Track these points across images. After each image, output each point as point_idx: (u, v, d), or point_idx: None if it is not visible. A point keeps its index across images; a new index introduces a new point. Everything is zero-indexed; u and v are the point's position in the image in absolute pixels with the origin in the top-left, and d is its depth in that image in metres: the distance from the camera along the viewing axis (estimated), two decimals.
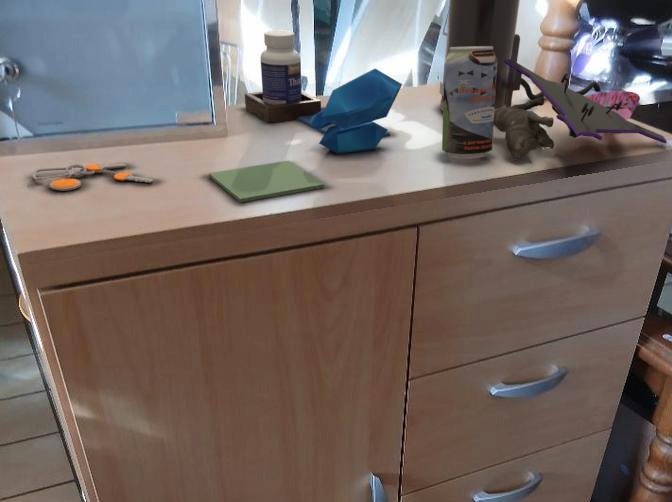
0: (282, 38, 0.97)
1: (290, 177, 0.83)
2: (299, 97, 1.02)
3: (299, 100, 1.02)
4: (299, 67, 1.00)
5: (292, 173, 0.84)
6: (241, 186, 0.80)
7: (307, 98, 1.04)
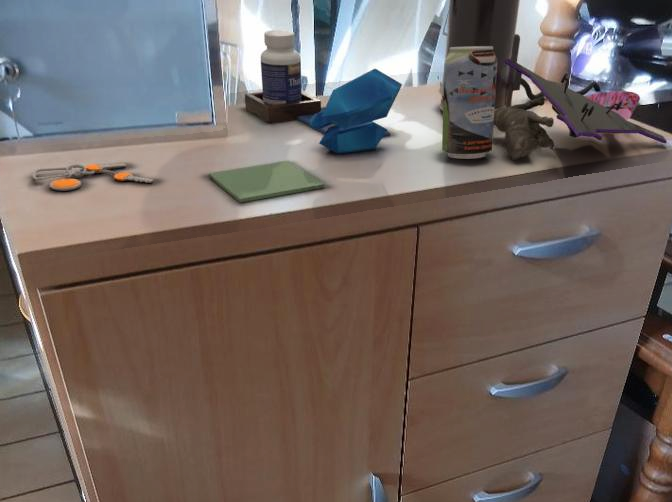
0: (282, 38, 0.97)
1: (290, 177, 0.83)
2: (299, 97, 1.02)
3: (299, 100, 1.02)
4: (299, 67, 1.00)
5: (292, 173, 0.84)
6: (241, 186, 0.80)
7: (307, 98, 1.04)
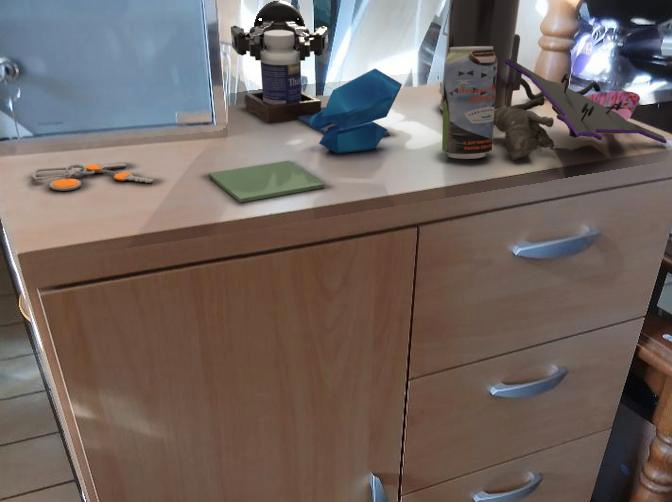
0: (282, 38, 0.97)
1: (290, 177, 0.83)
2: (299, 97, 1.02)
3: (299, 100, 1.02)
4: (299, 67, 1.00)
5: (292, 173, 0.84)
6: (241, 186, 0.80)
7: (307, 98, 1.04)
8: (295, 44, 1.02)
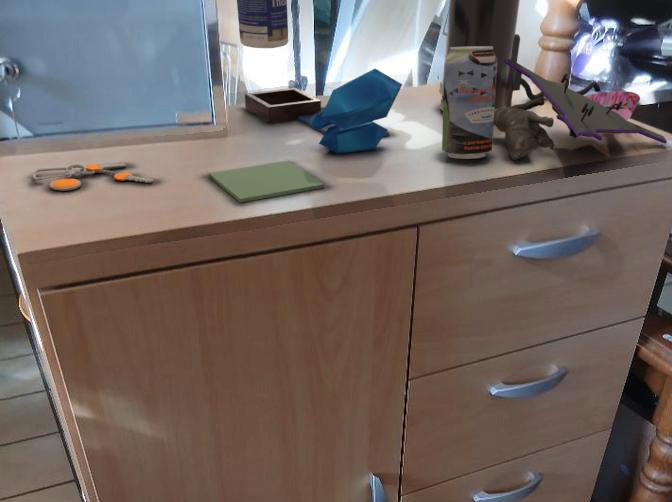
0: None
1: (290, 177, 0.83)
2: (285, 23, 0.80)
3: (285, 27, 0.81)
4: None
5: (292, 173, 0.84)
6: (241, 186, 0.80)
7: (307, 98, 1.04)
8: None
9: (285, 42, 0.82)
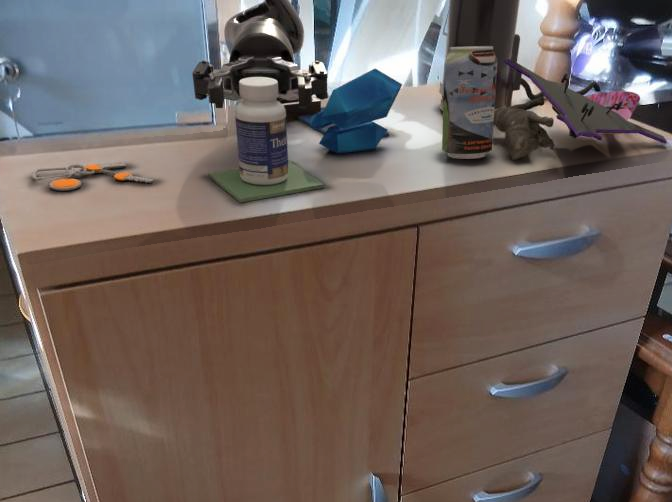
0: (262, 89, 0.75)
1: (290, 177, 0.83)
2: (285, 160, 0.80)
3: (285, 164, 0.81)
4: (284, 124, 0.78)
5: (292, 173, 0.84)
6: (241, 186, 0.80)
7: None
8: (290, 85, 0.80)
9: (285, 178, 0.81)
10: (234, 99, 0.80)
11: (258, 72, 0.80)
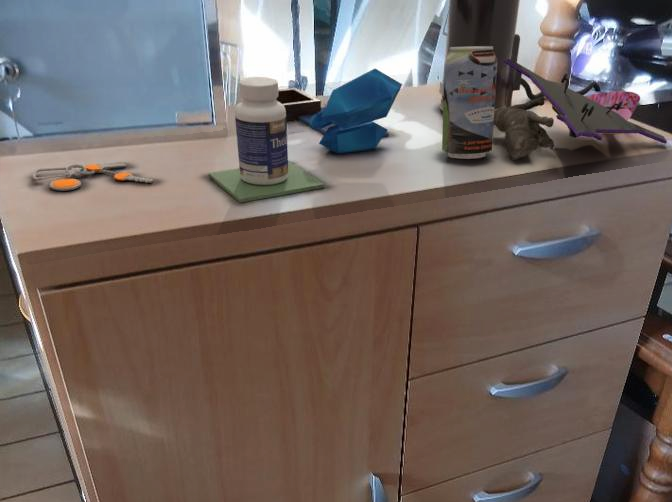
0: (262, 89, 0.75)
1: (290, 177, 0.83)
2: (285, 160, 0.80)
3: (285, 164, 0.81)
4: (284, 124, 0.78)
5: (292, 173, 0.84)
6: (241, 186, 0.80)
7: (307, 98, 1.04)
8: None
9: (285, 178, 0.81)
10: None
11: None
